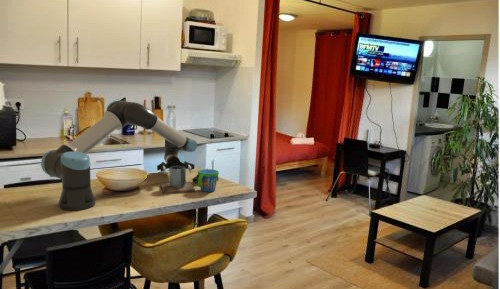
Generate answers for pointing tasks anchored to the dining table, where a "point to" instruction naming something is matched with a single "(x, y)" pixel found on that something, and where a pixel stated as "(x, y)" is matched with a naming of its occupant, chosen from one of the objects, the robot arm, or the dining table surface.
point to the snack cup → (207, 179)
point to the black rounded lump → (195, 178)
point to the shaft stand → (168, 189)
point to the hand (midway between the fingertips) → (177, 170)
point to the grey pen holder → (177, 177)
